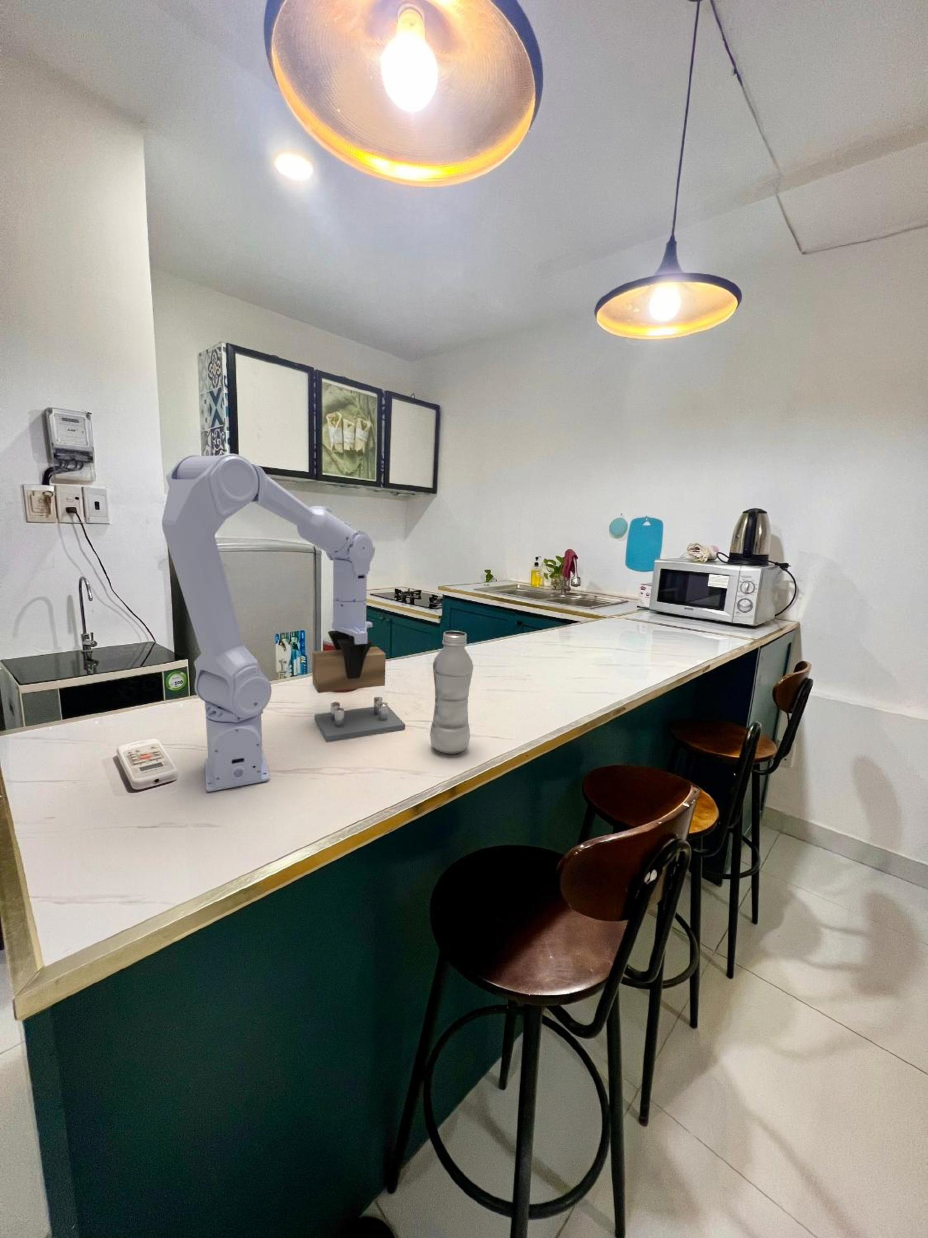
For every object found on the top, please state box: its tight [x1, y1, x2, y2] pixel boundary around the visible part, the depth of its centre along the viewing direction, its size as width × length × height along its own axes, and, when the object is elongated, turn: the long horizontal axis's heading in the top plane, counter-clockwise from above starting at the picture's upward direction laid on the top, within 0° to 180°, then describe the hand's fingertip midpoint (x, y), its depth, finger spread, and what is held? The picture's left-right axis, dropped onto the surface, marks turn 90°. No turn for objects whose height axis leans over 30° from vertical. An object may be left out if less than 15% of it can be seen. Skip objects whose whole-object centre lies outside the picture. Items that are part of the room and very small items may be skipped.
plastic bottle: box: [429, 630, 474, 755], centre depth 80 cm, size 6×7×20 cm
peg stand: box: [314, 696, 406, 743], centre depth 89 cm, size 10×14×4 cm
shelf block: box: [311, 646, 387, 694], centre depth 88 cm, size 5×12×6 cm, turn 117°
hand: (349, 673), depth 88 cm, fingers closed on shelf block, 5 cm apart
